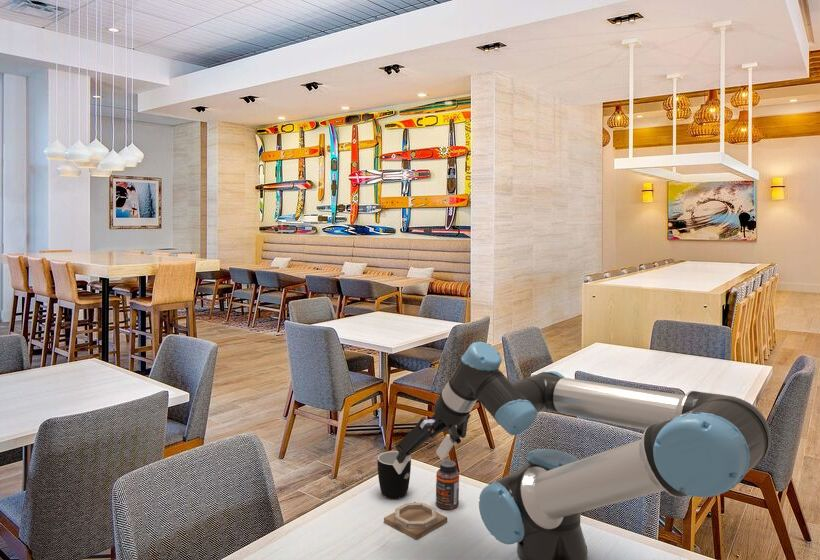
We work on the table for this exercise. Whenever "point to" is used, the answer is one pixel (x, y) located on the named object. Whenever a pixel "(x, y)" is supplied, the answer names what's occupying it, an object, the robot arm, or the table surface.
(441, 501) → the supplement bottle
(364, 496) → the table surface
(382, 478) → the mug
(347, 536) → the table surface
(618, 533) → the table surface
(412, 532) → the socket board
